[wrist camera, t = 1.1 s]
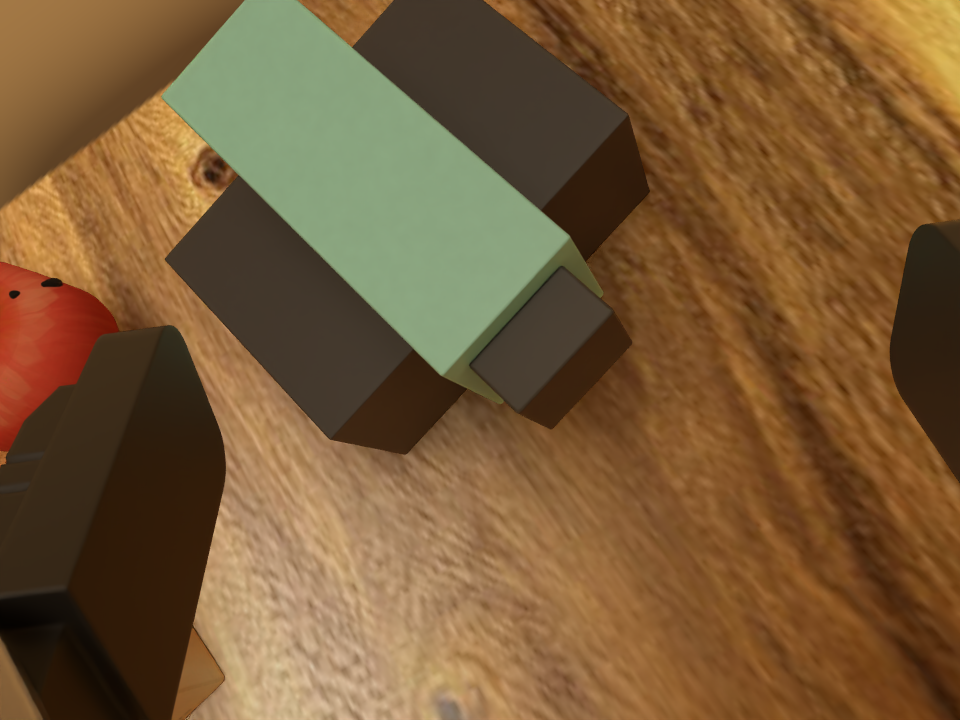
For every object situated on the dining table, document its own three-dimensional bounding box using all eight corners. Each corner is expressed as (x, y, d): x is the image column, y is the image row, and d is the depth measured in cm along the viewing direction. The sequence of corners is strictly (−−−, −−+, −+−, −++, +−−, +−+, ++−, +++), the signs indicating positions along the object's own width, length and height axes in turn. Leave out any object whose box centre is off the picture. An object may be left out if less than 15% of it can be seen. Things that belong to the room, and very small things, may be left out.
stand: (484, 57, 32) (430, -42, 27) (650, 191, 30) (629, 114, 24) (262, 303, 33) (163, 258, 28) (405, 455, 31) (329, 440, 25)
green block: (260, 170, 27) (159, 96, 22) (350, 69, 27) (266, -27, 22) (543, 447, 23) (493, 428, 19) (650, 333, 23) (627, 285, 18)
